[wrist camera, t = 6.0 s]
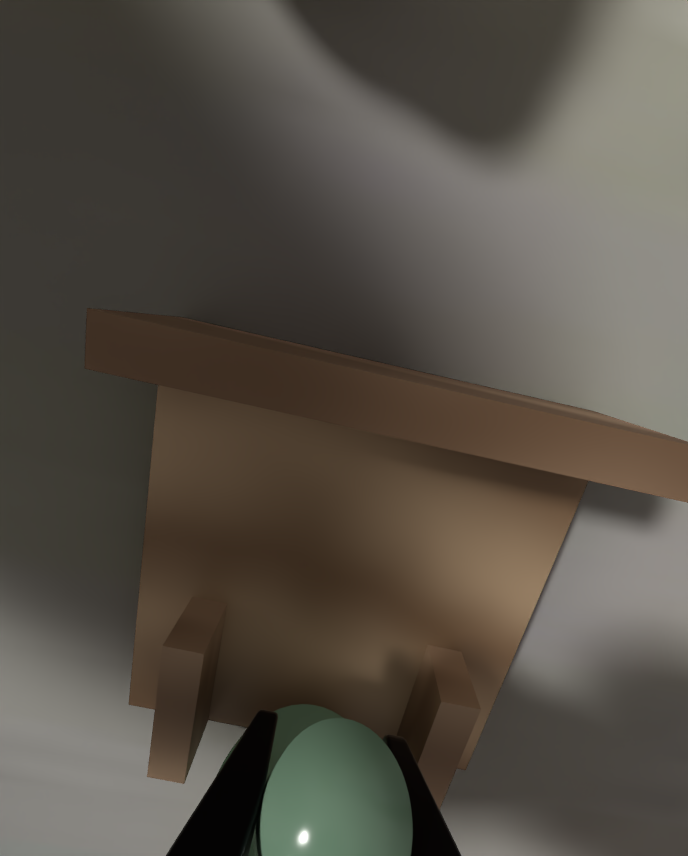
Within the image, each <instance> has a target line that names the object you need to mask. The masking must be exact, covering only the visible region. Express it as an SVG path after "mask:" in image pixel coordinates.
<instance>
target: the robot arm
mask: <svg viewBox="0 0 688 856" xmlns="http://www.w3.org/2000/svg"><path fill="white" fill-rule="evenodd" d="M277 721H278V714H277V713H276V712H273V711H268V710H259V711H258V712H257V714H256V715H255V717H254V718H253V720H252V721H251V723H250V725H249V726H248V728H247V729H246V731H245V732H244V734H243V735H242V737H241V739H240V740H239V742H238V743H237V745H236V746H235V748H234V750H233V751H232V753H231V754H230V756H229V757H228V759H227V761H226V762H225V764H224V765H223V767H222V768H221V770H220V772H219V773H218V775H217V776H216V778H215V779H214V781H213V783H212V784H211V786H210V787H209V789H208V790H207V792H206V794H205V795H204V797H203V798H202V800H201V801H200V803H199V804H198V806H197V808H196V809H195V811H194V812H193V814H192V815H191V817H190V819H189V820H188V822H187V823H186V825H185V826H184V828H183V830H182V831H181V833H180V834H179V836H178V837H177V839H176V841H175V842H174V844H173V845H172V847H171V848H170V850H169V852H168V853H167V855H166V856H249V851H250V847H251V843H252V839H253V834H254V830H255V826H256V822H257V817H258V813H259V809H260V805H261V800H262V796H263V792H264V787H265V783H266V779H267V773H268V768H269V763H270V758H271V752H272V747H273V742H274V737H275V731H276V726H277ZM383 741H384V742H385V744H386V745H387V746H388V748H389V749H390V750H391V752H392V754H393V755H394V757H395V759H396V760H397V763H398V765H399V767H400V769H401V771H402V774H403V777H404V779H405V782H406V786H407V790H408V793H409V798H410V804H411V811H412V822H413V838H412V850H411V856H461V854H460V852H459V850H458V848H457V846H456V844H455V842H454V840H453V837H452V835H451V833H450V831H449V829H448V827H447V825H446V823H445V821H444V819H443V816H442V814H441V812H440V810H439V808H438V806H437V804H436V802H435V800H434V798H433V796H432V793H431V791H430V789H429V787H428V785H427V783H426V781H425V779H424V777H423V775H422V773H421V770H420V768H419V766H418V764H417V762H416V760H415V758H414V756H413V754H412V752H411V750H410V747H409V745H408V743H407V741H406V740H405V739H404V738H403V737H400V736H395V735H390V734H386V735H385V736H384V738H383Z"/></svg>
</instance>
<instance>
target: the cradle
mask: <svg viewBox="0 0 688 856" xmlns="http://www.w3.org/2000/svg"><path fill="white" fill-rule="evenodd" d="M85 369H89V370H93V371H98V372H102V373H107V374H111V375H116V376H120V377H125V378H129V379H134V380H138V381H143V382H147V383H152V384H156V385H158V390H157V401H156V412H155V423H154V433H153V444H152V455H151V466H150V477H149V488H148V499H147V510H146V521H145V532H144V543H143V554H142V565H141V576H140V586H139V597H138V608H137V619H136V630H135V641H134V652H133V663H132V674H131V685H130V696H129V705H134V706H139V707H144V708H149V709H155V713H154V722H153V731H152V739H151V748H150V757H149V765H148V774H147V777H151V778H156V779H162V780H167V781H172V782H177V783H183V784H184V783H185V780H186V777H187V775H188V772H189V770H190V767H191V764H192V762H193V759H194V756H195V754H196V751H197V748H198V746H199V743H200V740H201V738H202V735H203V732H204V730H205V727H206V724H207V722H208V720H211V721H216V722H221V723H226V724H231V725H237V726H242V727H247V728H248V726H249V725H250V723H251V721H252V720H253V718H254V717H255V715H256V714H257V712H258V711H259V710H268V711H276V710H278V709H280V708H283V707H287V706H291V705H299V704H309V705H316V706H320V707H324V708H326V709H329V710H331V711H333V712H335V713H337V714H338V715H340V716H342V717H343V718H345V719H349V720H354V721H356V722H359V723H361V724H363V725H365V726H366V727H368V728H370V729H371V730H372V731H373V732H375V733H376V734H377V735H378V736H379V737H380V738H381V739H382V740H383V738H384V736H385V735H386V734H390V735H395V736H400V737H403V738H404V739H405V740H406V741H407V743H408V745H409V747H410V750H411V752H412V754H413V756H414V758H415V760H416V762H417V764H418V766H419V768H420V770H421V773H422V775H423V777H424V779H425V781H426V783H427V785H428V787H429V789H430V791H431V793H432V796H433V798H434V800H435V802H436V804H437V806H438V808H439V810H440V807H441V805H442V802H443V800H444V797H445V795H446V793H447V790H448V788H449V785H450V783H451V781H452V778H453V776H454V773H455V771H456V769H462V770H466V768H467V766H468V763H469V761H470V759H471V756H472V754H473V752H474V749H475V747H476V744H477V742H478V740H479V737H480V735H481V733H482V730H483V728H484V726H485V723H486V721H487V719H488V716H489V714H490V712H491V709H492V707H493V704H494V702H495V700H496V697H497V695H498V693H499V690H500V688H501V686H502V683H503V681H504V679H505V676H506V674H507V672H508V669H509V667H510V664H511V662H512V660H513V657H514V655H515V653H516V650H517V648H518V646H519V643H520V641H521V639H522V636H523V634H524V632H525V629H526V627H527V624H528V622H529V620H530V617H531V615H532V613H533V610H534V608H535V606H536V603H537V601H538V599H539V596H540V594H541V592H542V589H543V587H544V584H545V582H546V580H547V577H548V575H549V573H550V570H551V568H552V566H553V563H554V561H555V559H556V556H557V554H558V552H559V549H560V547H561V544H562V542H563V540H564V537H565V535H566V533H567V530H568V528H569V526H570V523H571V521H572V519H573V516H574V514H575V512H576V509H577V507H578V504H579V502H580V500H581V497H582V495H583V493H584V490H585V488H586V486H587V483H588V481H593V482H597V483H602V484H606V485H611V486H615V487H620V488H624V489H629V490H633V491H638V492H642V493H647V494H651V495H656V496H660V497H665V498H669V499H674V500H678V501H683V502H687V503H688V442H687V441H684V440H681V439H678V438H675V437H671V436H668V435H665V434H662V433H659V432H656V431H653V430H650V429H647V428H644V427H641V426H637V425H634V424H631V423H628V422H625V421H622V420H619V419H616V418H613V417H610V416H607V415H604V414H600V413H597V412H594V411H590V410H586V409H582V408H577V407H573V406H569V405H564V404H560V403H555V402H551V401H547V400H542V399H538V398H533V397H529V396H525V395H520V394H516V393H512V392H507V391H503V390H498V389H494V388H490V387H485V386H481V385H477V384H472V383H468V382H463V381H459V380H455V379H450V378H446V377H441V376H437V375H433V374H428V373H424V372H420V371H415V370H411V369H406V368H402V367H398V366H393V365H389V364H385V363H380V362H376V361H371V360H367V359H363V358H358V357H354V356H349V355H345V354H341V353H336V352H332V351H328V350H323V349H319V348H314V347H310V346H306V345H301V344H297V343H292V342H288V341H284V340H279V339H275V338H271V337H266V336H262V335H257V334H253V333H249V332H244V331H240V330H236V329H231V328H227V327H222V326H218V325H214V324H209V323H205V322H200V321H196V320H192V319H187V318H183V317H175V316H165V315H154V314H144V313H133V312H123V311H112V310H102V309H91V308H87V318H86V343H85Z"/></svg>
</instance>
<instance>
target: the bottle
mask: <svg viewBox="0 0 688 856" xmlns="http://www.w3.org/2000/svg"><path fill="white" fill-rule="evenodd" d="M273 712H276V713H277V714H278V721H277V726H276V731H275V737H274V742H273V747H272V752H271V758H270V763H269V768H268V773H267V779H266V783H265V787H264V792H263V796H262V800H261V805H260V809H259V813H258V817H257V822H256V826H255V830H254V834H253V839H252V843H251V847H250V851H249V856H411V850H412V838H413V822H412V811H411V804H410V798H409V793H408V790H407V786H406V782H405V779H404V777H403V774H402V771H401V769H400V767H399V765H398V763H397V760H396V759H395V757H394V755H393V754H392V752H391V750H390V749H389V748H388V746H387V745H386V744H385V742H384V741H383V740H382V739H381V738H380V737H379V736H378V735H377V734H376V733H375V732H373V731H372V730H371V729H370V728H368V727H366V726H365V725H363V724H361V723H359V722H356V721H354V720H349V719H345V718H343V717H342V716H340V715H338V714H337V713H335V712H333V711H331V710H329V709H326V708H324V707H320V706H316V705H309V704H299V705H291V706H287V707H283V708H280V709H278V710H276V711H273ZM241 737H242V736H241ZM240 739H241V738H240ZM240 739H239V740H240ZM239 740H238V741H237V743H238V742H239ZM237 743H236V744H235V745H234V747H233V748H232V749H231V751H230V753H229V754H228V756H227V757H226V759H225V760H224V762H223V764H222V766H221V768H222V767H223V765H224V764H225V762H226V761H227V759H228V757H229V756H230V754H231V753H232V751H233V750H234V748H235V746H236V745H237ZM221 768H220V770H221ZM220 770H219V772H220ZM219 772H218V773H219ZM217 775H218V774H217Z"/></svg>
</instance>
